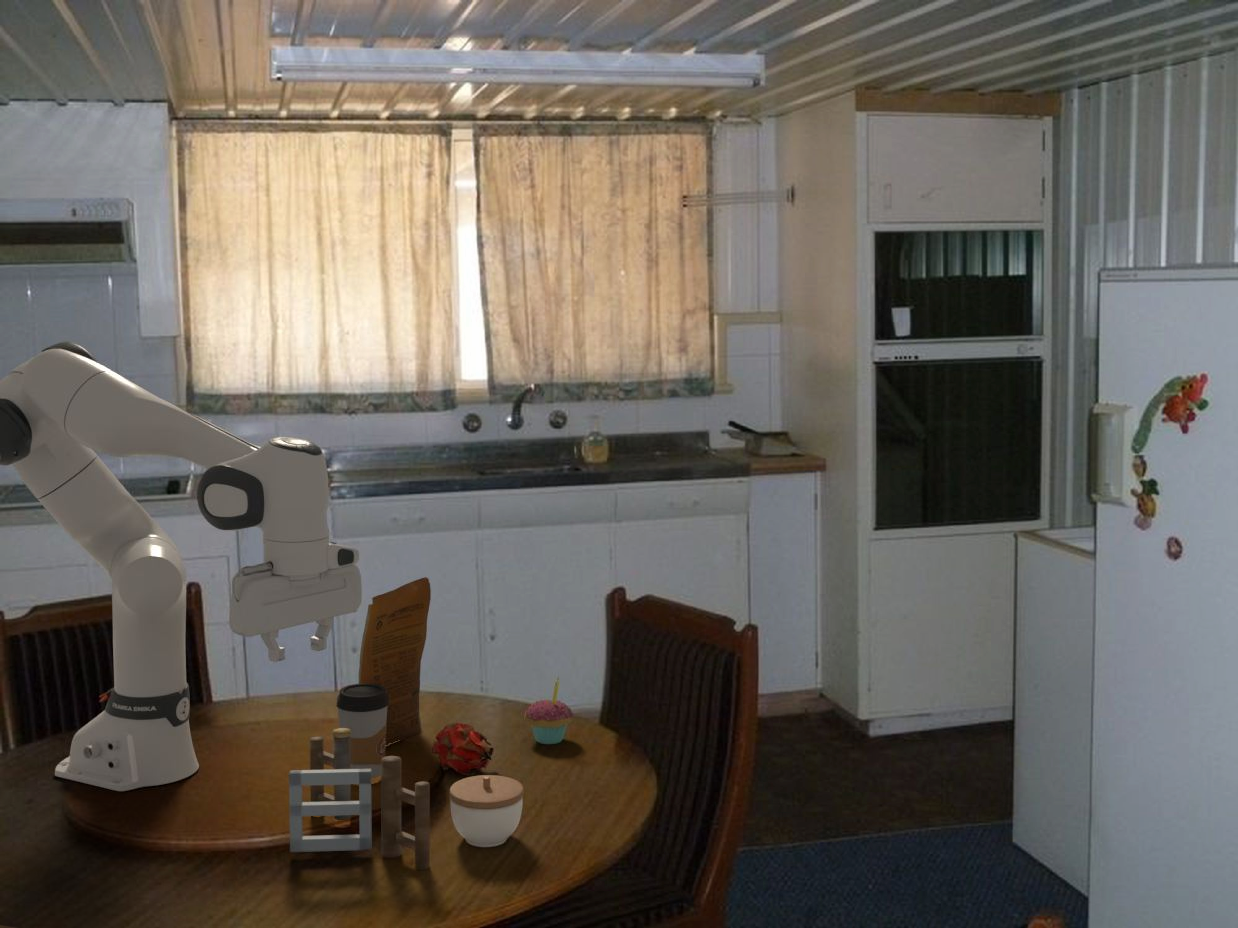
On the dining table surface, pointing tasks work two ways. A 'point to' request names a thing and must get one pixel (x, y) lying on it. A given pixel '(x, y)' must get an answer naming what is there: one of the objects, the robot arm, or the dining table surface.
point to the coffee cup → (364, 724)
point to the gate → (330, 809)
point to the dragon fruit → (462, 748)
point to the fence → (389, 798)
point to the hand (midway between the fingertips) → (298, 654)
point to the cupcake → (549, 719)
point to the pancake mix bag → (397, 653)
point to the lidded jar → (486, 808)
